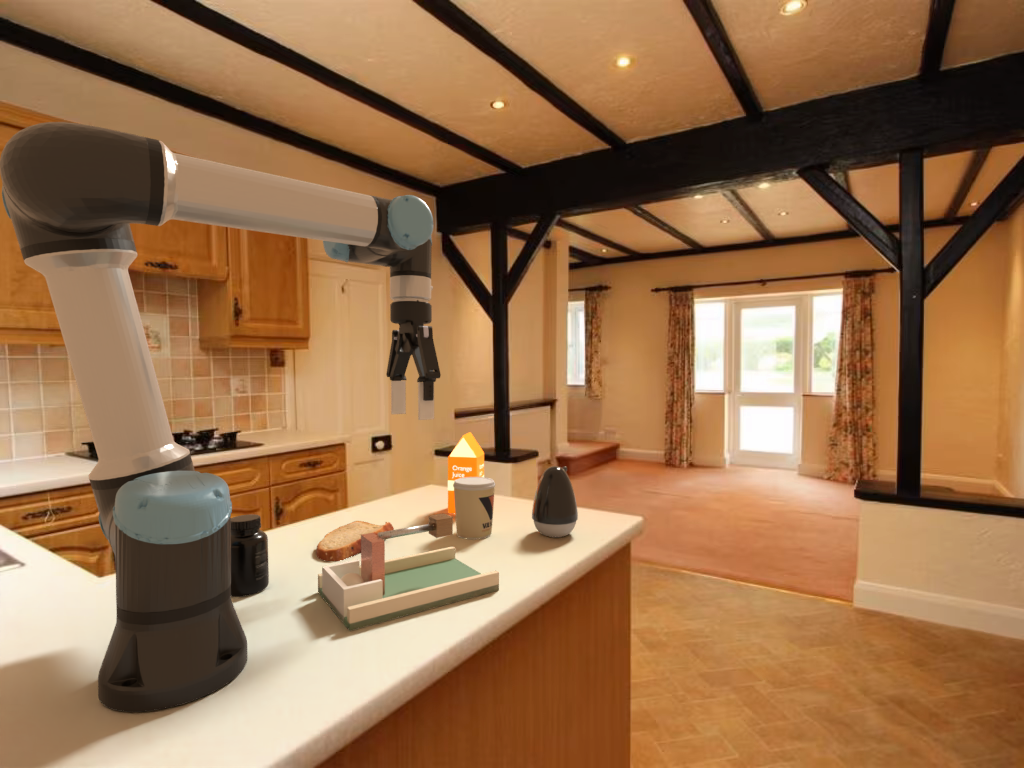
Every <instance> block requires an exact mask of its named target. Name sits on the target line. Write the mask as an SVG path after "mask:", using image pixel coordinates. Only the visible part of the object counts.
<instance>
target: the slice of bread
mask: <svg viewBox="0 0 1024 768" xmlns="http://www.w3.org/2000/svg"><path fill="white" fill-rule="evenodd" d="M391 530H395V527H394V526H393V524H392V523H391V522H389V521H385V523H384V524H380V525H379V524H374V523H370V522H368V521H367V522H366V521H362V520H354V521H352V522H350V523H347V524H344V525H342V526H341V525H340V526H339V527H337V528H335V529H333V530H332V531H330V532H328V533H327V534H325V535H324V538H322V540H320V541H319V542H318V544H317V546H316V551H315V556H316V558H318V559H319V560H321V561H324V560H325V562H328V561H335V562H341V561H340V560H342V561H344V559H345V560H346V558H347V559H350V558H351V556H352V557H355V556H356V555H359V554H361V535H362V534H368V533H374V534H376V535H377V534H378V533H379V532H385V531H391ZM354 555H355V556H354ZM349 557H350V558H349Z"/></svg>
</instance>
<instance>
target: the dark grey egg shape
mask: <svg viewBox="0 0 1024 768" xmlns="http://www.w3.org/2000/svg"><path fill="white" fill-rule="evenodd" d="M567 471H568V467H567V466H562V467H561V466H557V465H556V466H555V465H554V466H549V467H548V468H546V469H545V470H544V471H543V473H542V475H541V476H540V479H539V481H538V483H537V486H536V489H535V494H534V497H533V498H534V499H533V504H532V509H531V510H532V511H531V519H532V520H533V524H534V526H535V529H536V530H537V531H538V532H539V533H540V534H541V535H543V536H546V537H548V536H549V538H563V537H566V536H568V535H569V534H571V533H572V531H573V530H574V529H575V526H576V524H577V521H578V520H579V515H578V513H579V511H578V506H577V500H576V499H577V498H576V495H575V491H574V488H573V485H572V481H571V479H570V477H569V474H568V473H567ZM562 536H563V537H562Z"/></svg>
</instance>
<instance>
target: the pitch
mask: <svg viewBox="0 0 1024 768" xmlns="http://www.w3.org/2000/svg"><path fill="white" fill-rule="evenodd" d="M348 573H356V574H359V575H360V576H361V564H360V560H359V559H354V560H347V561H344V562H343V561H342V562H339V563H334V564H329V565H325V566H322V567H321V573H318V574H317V593H318V592H319V593H320V594H319V593H318V594H319V596H320V597H321V596H322V597H323V598H324V599H323V598H322V597H321V598H322V599H323V600H324V602H325V603H326V602H327V603H328V604H327V603H326V604H327V605H328V607H331V608H332V609H333V610H332V609H331V608H330V609H331V610H332V611H333V613H334V614H335V613H336V614H335V615H336V616H337V617H338V619H339V620H340V621H341V622H342V624H343V625H344V626H345V627H346V628H347V630H348V631H350V632H351V631H354V630H355V631H356V630H358V629H362V628H365V627H369V626H373V625H377V624H380V623H383V622H388V621H391V620H395V619H398V618H401V617H405V616H410V615H413V614H417V613H420V612H424V611H427V610H431V609H435V608H440V607H442V606H446V605H449V604H454V603H458V602H461V601H464V600H468V599H472V598H475V597H479V596H483V595H487V594H490V593H494V592H497V591H500V572H499V571H498V570H492V571H488V572H484V573H481V572H479V571H477V570H475V569H474V568H472V567H471V566H469V565H468V564H466V563H463V562H462V561H461V560H458V559H457V558H456V547H455V546H449V547H442V548H439V549H434V550H429V551H425V552H420V553H414V554H410V555H404V556H400V557H394V558H390V559H385V595H383V581H382V580H381V579H379V580H374V581H370V582H365V583H361V584H357V585H352V586H347V585H346V584H345V583H344V582H343V581H342V580H341V578H342V577H343V576H344V575H345V574H348Z"/></svg>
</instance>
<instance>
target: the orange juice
mask: <svg viewBox="0 0 1024 768" xmlns="http://www.w3.org/2000/svg"><path fill="white" fill-rule="evenodd" d="M464 477H485V452H484V450H483V449H482V447H481V446H480V444H479V442H478V441H477V440H476V438H475V436H474V435H473V434H472V432H471V431H470V432H467V433H465V434H463V435H462V437H460V439H459V441H458V442H457V444H456V445H455V447H454V448H453V450H452V451H451V453H450V454H449V455H448V456H447V514H448V513H455V499H454V487H453V484H454V481H455V480H456V479H459V478H464Z"/></svg>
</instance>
